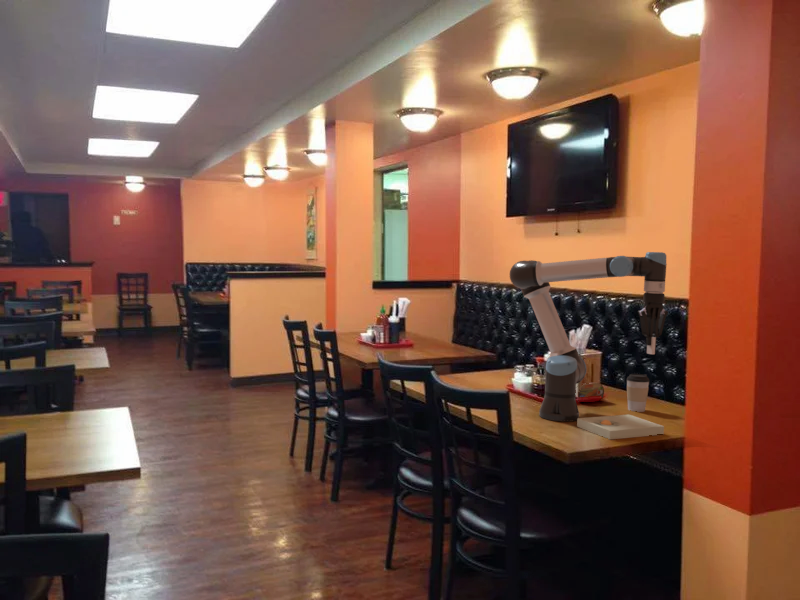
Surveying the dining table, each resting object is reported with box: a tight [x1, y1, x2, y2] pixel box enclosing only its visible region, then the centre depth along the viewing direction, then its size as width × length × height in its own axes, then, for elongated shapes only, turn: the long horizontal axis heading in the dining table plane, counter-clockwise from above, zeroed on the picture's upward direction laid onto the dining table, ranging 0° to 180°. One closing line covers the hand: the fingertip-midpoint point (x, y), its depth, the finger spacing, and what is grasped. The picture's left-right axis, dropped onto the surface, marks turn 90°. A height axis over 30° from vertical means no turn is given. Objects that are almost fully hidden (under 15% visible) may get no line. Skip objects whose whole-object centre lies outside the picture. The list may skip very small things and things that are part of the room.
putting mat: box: [576, 413, 665, 440], centre depth 238 cm, size 18×24×3 cm
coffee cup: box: [626, 373, 651, 413], centre depth 272 cm, size 9×9×15 cm
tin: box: [578, 382, 605, 399], centre depth 285 cm, size 15×3×8 cm, turn 119°
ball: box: [601, 420, 612, 425], centre depth 236 cm, size 4×4×4 cm
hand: (650, 353), depth 251 cm, fingers closed
